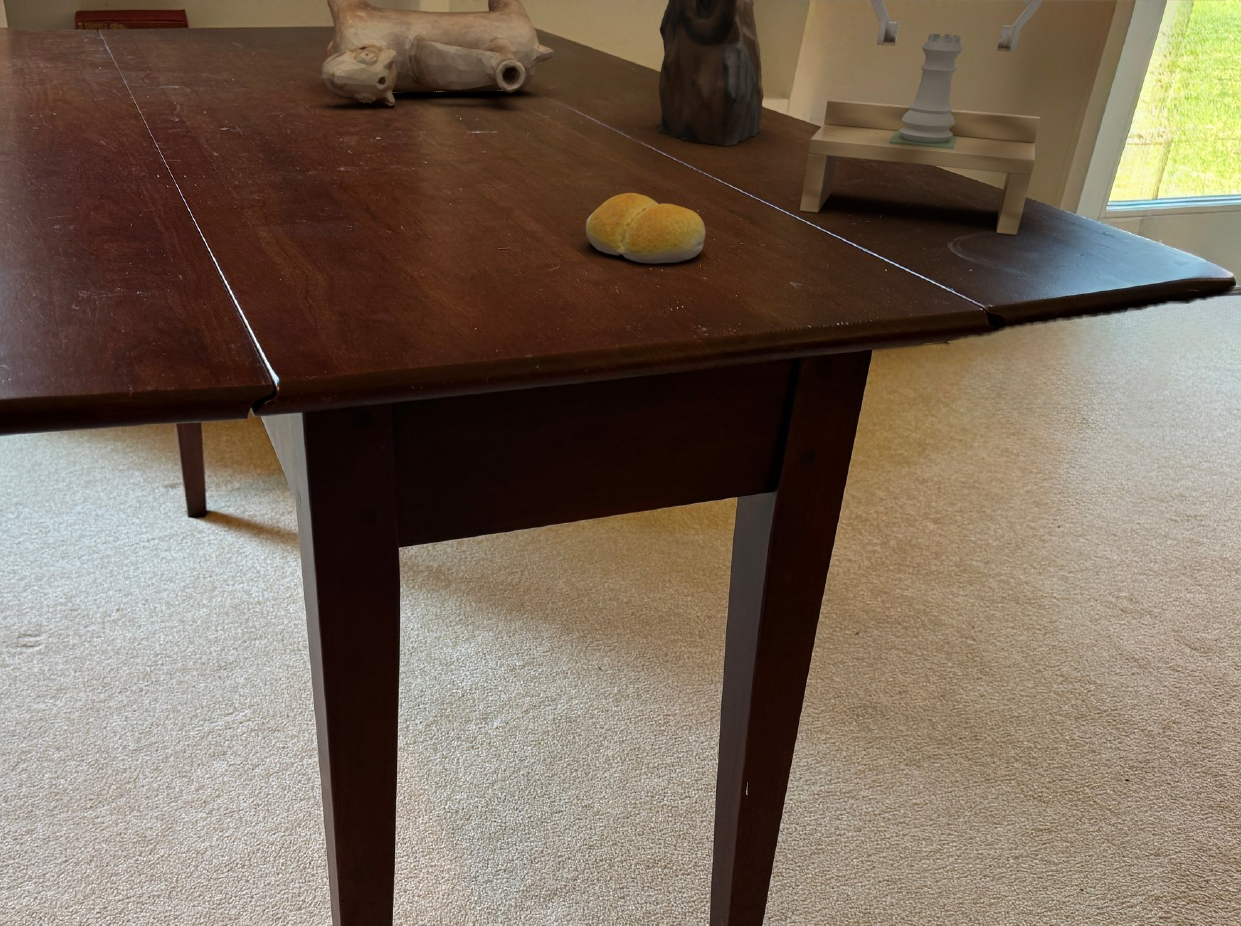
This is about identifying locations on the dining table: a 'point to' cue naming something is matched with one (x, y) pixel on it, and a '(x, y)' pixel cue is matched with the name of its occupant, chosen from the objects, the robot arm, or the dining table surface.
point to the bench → (924, 150)
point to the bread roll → (645, 230)
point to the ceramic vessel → (429, 50)
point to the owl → (710, 71)
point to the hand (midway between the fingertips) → (945, 48)
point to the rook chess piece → (933, 92)
